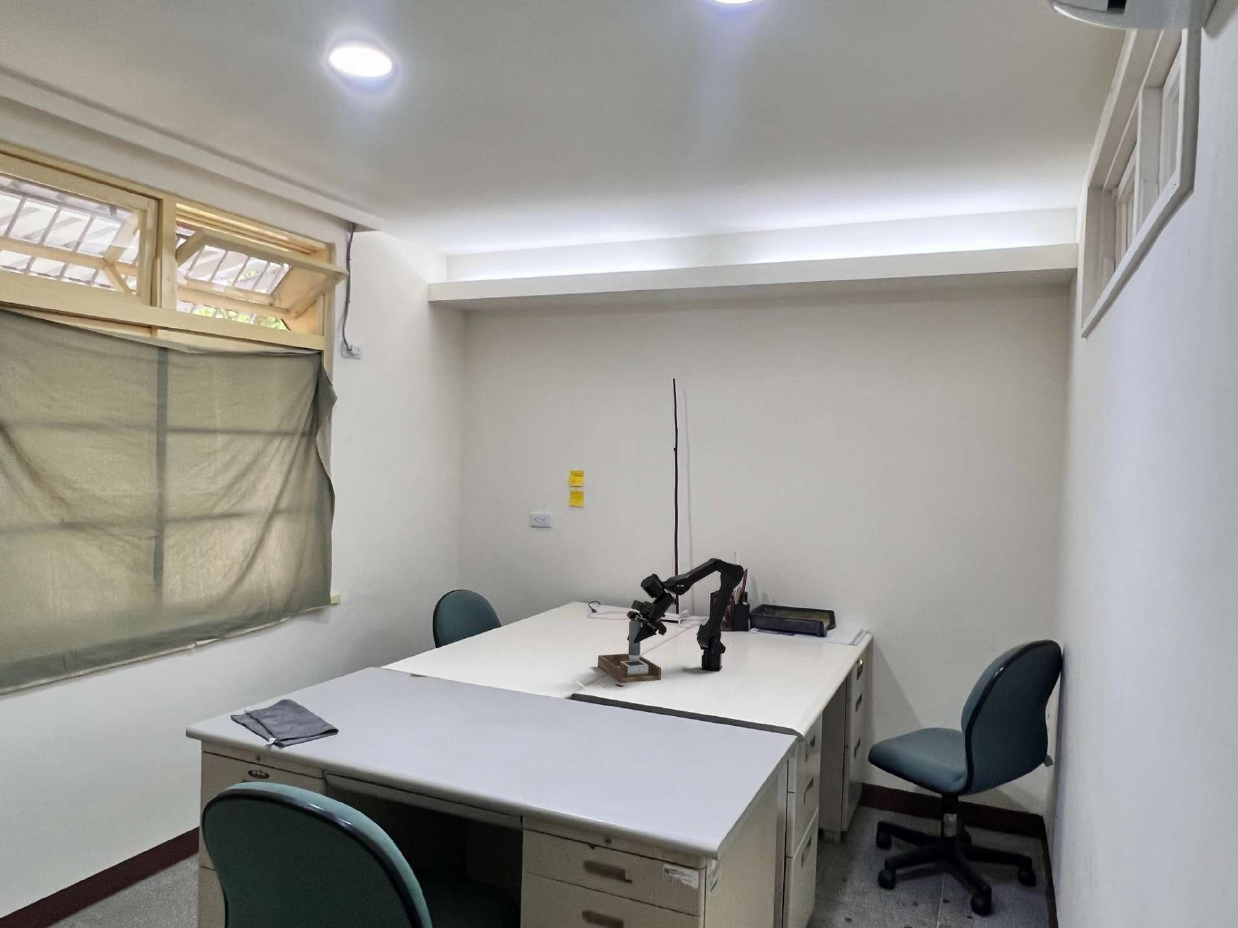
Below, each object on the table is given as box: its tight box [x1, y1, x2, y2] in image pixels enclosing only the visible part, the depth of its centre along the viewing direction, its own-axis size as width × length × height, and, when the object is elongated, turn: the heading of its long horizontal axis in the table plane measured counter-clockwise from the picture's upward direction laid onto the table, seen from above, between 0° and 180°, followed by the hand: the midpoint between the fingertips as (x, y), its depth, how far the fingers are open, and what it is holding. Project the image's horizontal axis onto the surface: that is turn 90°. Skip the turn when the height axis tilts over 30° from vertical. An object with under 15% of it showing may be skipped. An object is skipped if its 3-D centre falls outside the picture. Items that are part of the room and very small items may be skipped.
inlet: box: [620, 660, 648, 678], centre depth 283 cm, size 8×8×4 cm
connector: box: [628, 620, 641, 661], centre depth 283 cm, size 4×4×13 cm
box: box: [597, 652, 662, 684], centre depth 287 cm, size 15×23×4 cm, turn 21°
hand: (631, 641), depth 282 cm, fingers closed on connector, 4 cm apart
